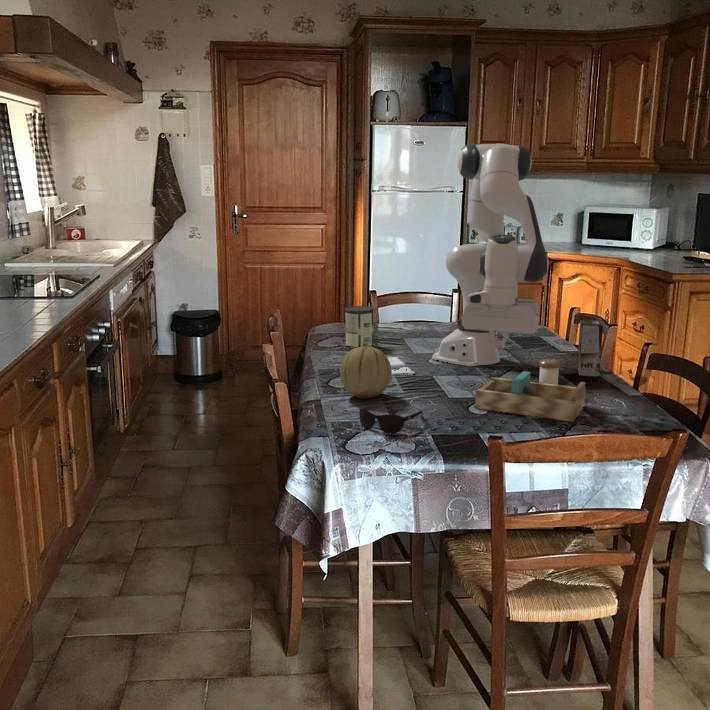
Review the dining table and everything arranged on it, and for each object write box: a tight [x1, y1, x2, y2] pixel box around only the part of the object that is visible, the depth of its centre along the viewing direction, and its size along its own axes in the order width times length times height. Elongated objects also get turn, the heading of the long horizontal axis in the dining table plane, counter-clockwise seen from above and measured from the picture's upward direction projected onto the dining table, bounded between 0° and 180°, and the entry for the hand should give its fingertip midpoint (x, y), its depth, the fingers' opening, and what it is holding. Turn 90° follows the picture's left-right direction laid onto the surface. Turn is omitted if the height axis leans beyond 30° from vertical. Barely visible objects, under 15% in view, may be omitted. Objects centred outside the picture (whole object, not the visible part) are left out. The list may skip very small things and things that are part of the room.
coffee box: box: [576, 319, 604, 377], centre depth 245 cm, size 9×6×16 cm
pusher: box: [511, 370, 536, 396], centre depth 212 cm, size 5×12×7 cm, turn 153°
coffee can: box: [344, 305, 375, 347], centre depth 282 cm, size 10×10×14 cm
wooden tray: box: [474, 376, 587, 422], centre depth 211 cm, size 26×15×7 cm, turn 63°
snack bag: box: [386, 356, 417, 374], centre depth 252 cm, size 19×20×2 cm
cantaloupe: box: [339, 343, 393, 399], centre depth 220 cm, size 15×15×15 cm
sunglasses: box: [358, 403, 424, 434], centre depth 199 cm, size 14×16×5 cm
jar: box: [538, 358, 561, 385], centre depth 225 cm, size 6×6×9 cm
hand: (499, 347), depth 212 cm, fingers closed
